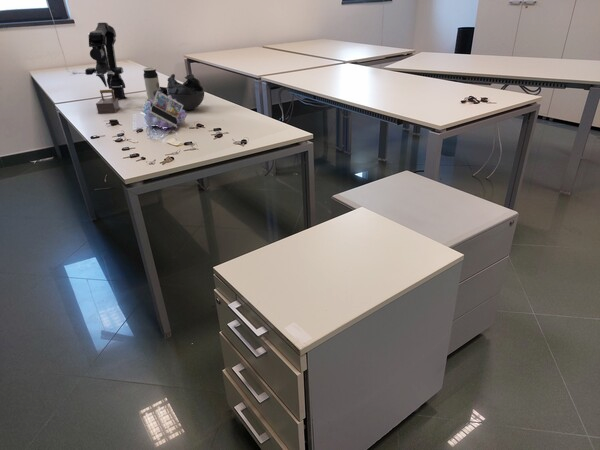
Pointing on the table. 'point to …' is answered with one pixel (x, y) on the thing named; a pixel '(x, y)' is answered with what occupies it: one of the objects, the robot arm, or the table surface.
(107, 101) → the lid
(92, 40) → the robot arm
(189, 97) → the bowl of black rocks
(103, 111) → the key box
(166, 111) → the crystal picture frame
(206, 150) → the table surface
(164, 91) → the speaker
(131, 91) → the table surface
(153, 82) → the travel mug
